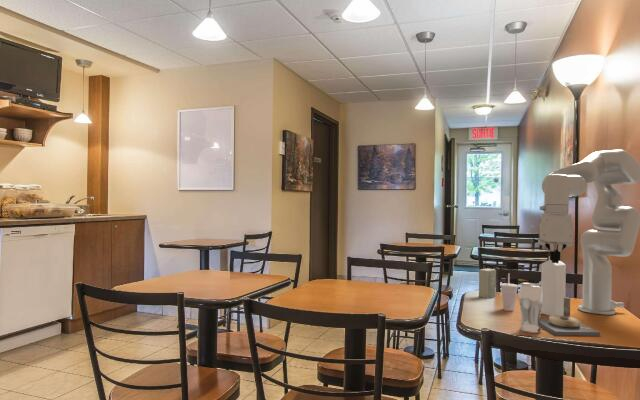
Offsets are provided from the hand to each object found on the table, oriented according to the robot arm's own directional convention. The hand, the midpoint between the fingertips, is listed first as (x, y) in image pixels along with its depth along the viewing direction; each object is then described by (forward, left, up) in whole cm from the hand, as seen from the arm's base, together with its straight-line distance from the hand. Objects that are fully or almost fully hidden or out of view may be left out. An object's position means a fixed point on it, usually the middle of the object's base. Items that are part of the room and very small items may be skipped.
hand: (554, 262), depth 156 cm
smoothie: (+8, -19, -21) cm, 29 cm away
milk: (-6, -13, -21) cm, 26 cm away
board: (0, +6, -21) cm, 22 cm away
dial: (0, +5, -19) cm, 20 cm away
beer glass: (+12, +9, -21) cm, 26 cm away
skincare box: (+8, -42, -21) cm, 48 cm away
